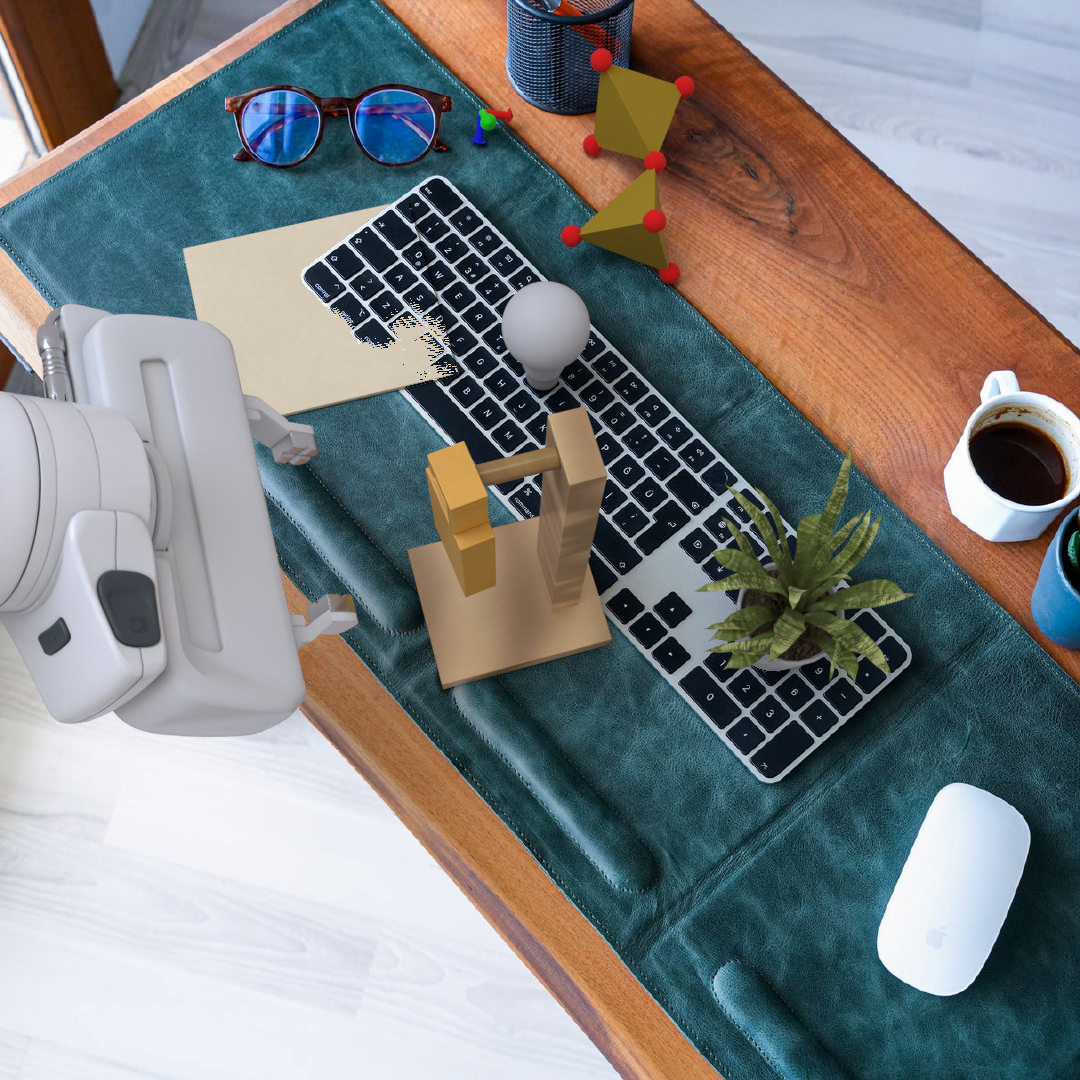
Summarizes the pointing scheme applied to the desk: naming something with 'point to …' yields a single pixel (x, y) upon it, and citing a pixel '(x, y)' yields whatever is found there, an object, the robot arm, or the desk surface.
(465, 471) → the stepped golden-orange block
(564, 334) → the lightbulb
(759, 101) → the desk surface
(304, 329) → the flat beige board
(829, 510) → the house plant
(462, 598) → the coat rack
